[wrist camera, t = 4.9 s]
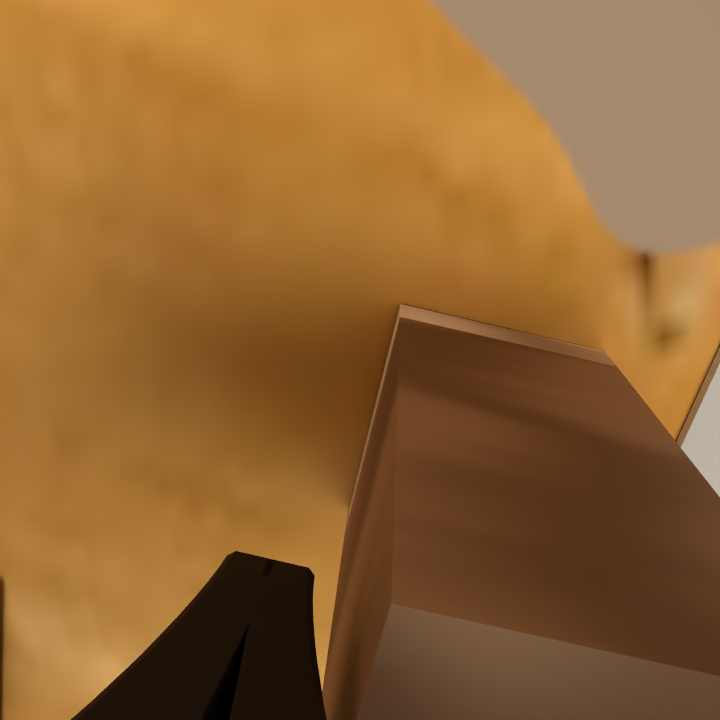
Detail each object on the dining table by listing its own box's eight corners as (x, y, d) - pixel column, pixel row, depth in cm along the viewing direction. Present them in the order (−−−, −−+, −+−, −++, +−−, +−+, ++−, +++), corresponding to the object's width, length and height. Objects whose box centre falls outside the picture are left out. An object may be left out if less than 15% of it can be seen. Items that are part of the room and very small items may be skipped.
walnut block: (348, 510, 18) (284, 956, 9) (400, 303, 16) (391, 603, 6) (526, 550, 18) (656, 1035, 9) (603, 350, 16) (890, 713, 6)
